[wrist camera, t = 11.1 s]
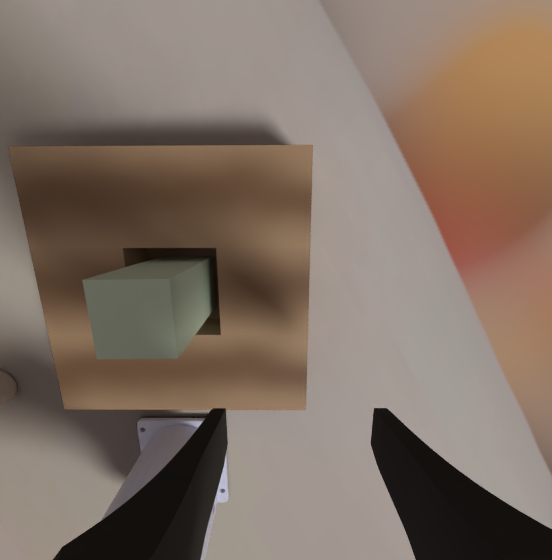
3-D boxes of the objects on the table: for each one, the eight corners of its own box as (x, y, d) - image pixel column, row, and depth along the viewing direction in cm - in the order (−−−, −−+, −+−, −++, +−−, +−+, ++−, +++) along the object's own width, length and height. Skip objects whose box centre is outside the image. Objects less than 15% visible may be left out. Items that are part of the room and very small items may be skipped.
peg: (216, 306, 20) (177, 358, 13) (166, 306, 20) (96, 359, 13) (212, 256, 19) (169, 279, 12) (160, 256, 19) (82, 280, 12)
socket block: (300, 377, 23) (305, 410, 19) (100, 377, 23) (64, 409, 19) (305, 160, 19) (312, 144, 15) (63, 161, 19) (7, 146, 15)
